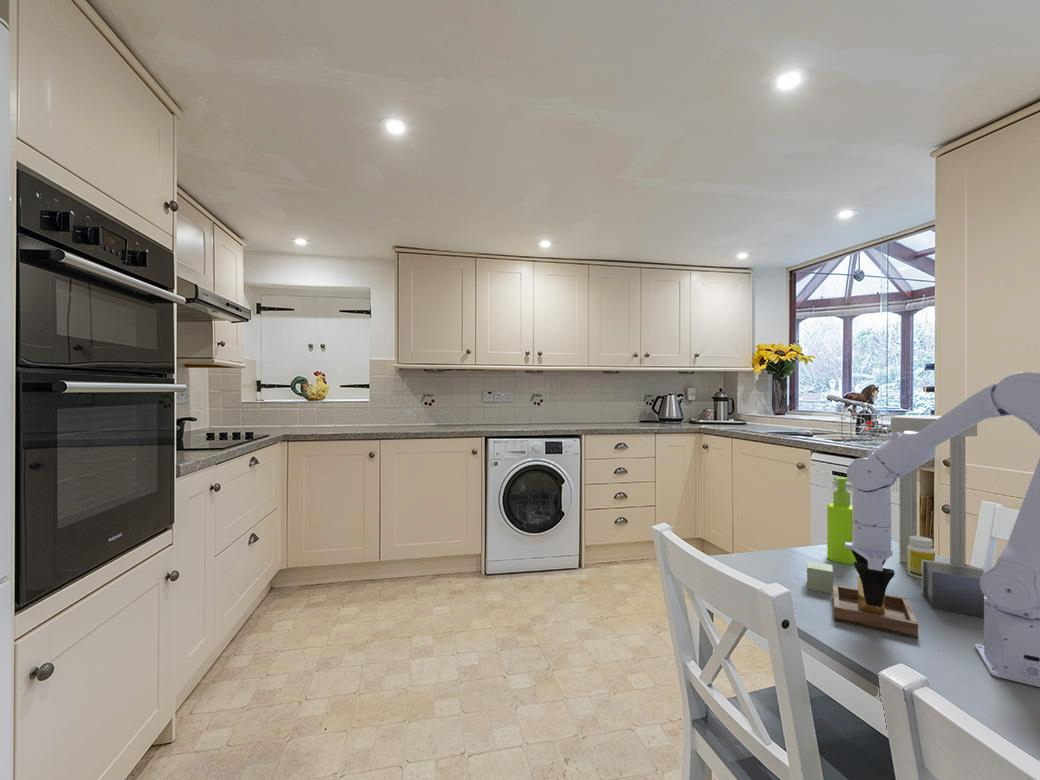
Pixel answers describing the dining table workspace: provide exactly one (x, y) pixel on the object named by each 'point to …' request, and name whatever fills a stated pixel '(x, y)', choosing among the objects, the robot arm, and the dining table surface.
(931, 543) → the supplement bottle
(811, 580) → the sage block
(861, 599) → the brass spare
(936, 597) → the block
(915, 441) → the robot arm
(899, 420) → the stool
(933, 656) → the dining table surface
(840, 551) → the soap dispenser
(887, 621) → the walnut tray
